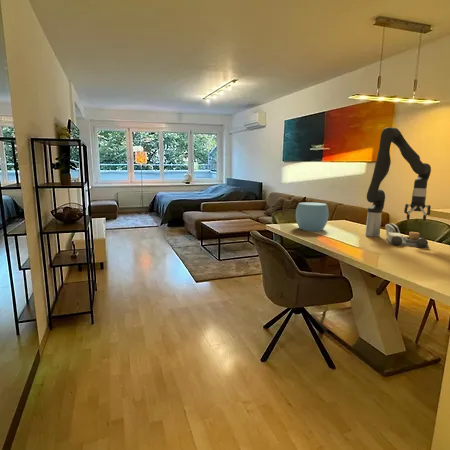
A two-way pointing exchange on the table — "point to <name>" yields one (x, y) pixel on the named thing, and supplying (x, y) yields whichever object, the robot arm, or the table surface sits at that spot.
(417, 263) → the table surface
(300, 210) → the planter
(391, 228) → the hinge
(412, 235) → the block
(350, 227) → the table surface
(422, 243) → the chassis
